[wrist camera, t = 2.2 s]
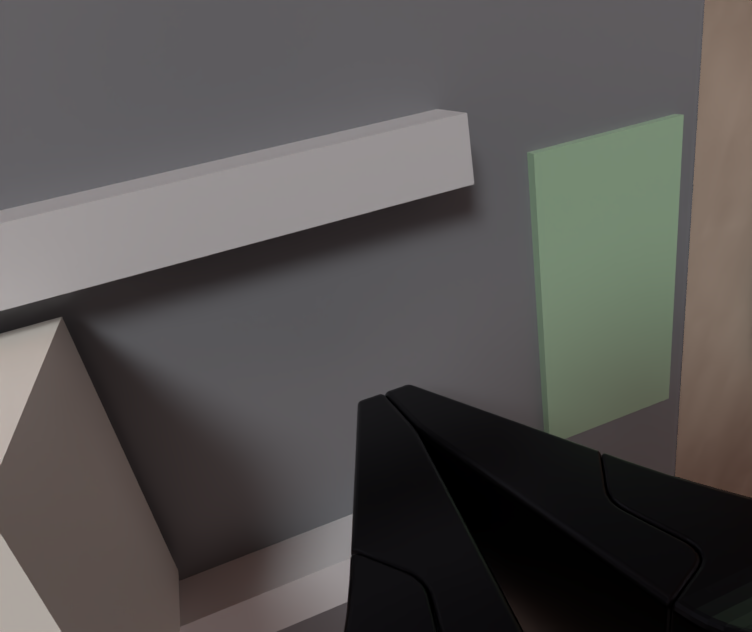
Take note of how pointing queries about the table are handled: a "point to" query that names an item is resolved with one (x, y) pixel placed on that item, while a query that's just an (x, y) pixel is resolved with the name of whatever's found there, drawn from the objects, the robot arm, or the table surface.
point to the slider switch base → (344, 245)
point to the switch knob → (71, 502)
